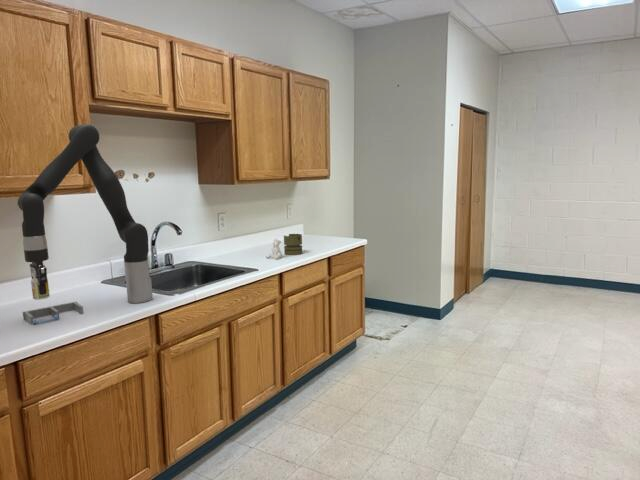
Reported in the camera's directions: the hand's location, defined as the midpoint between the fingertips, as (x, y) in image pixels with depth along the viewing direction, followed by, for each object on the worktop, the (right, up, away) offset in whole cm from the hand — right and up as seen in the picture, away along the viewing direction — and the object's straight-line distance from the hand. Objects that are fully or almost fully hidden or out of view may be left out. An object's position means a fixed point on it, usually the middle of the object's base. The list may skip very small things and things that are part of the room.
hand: (40, 292), depth 178 cm
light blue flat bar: (+2, -11, 0) cm, 11 cm away
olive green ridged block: (+87, +11, +125) cm, 153 cm away
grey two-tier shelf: (+1, -10, +7) cm, 12 cm away
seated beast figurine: (+77, +8, +112) cm, 136 cm away
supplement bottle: (0, -2, 0) cm, 2 cm away
